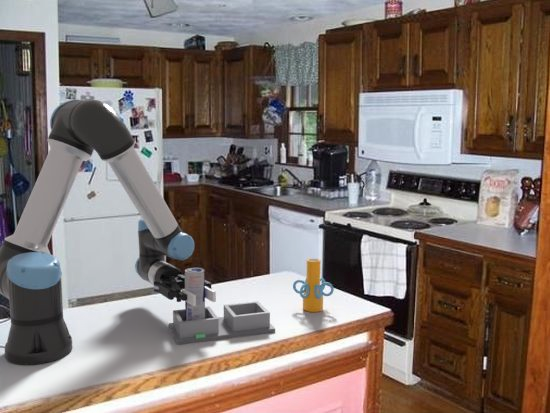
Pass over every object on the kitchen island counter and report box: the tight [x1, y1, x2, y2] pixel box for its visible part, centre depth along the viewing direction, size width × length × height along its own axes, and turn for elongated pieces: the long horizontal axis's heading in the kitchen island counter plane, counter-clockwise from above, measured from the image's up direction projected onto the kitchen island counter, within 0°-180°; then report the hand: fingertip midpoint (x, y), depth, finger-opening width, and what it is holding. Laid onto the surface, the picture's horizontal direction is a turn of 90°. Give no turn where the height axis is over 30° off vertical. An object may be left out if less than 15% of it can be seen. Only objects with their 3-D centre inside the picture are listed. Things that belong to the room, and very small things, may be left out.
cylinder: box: [292, 257, 335, 313], centre depth 171 cm, size 12×10×15 cm
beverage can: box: [184, 267, 206, 321], centre depth 151 cm, size 5×5×15 cm
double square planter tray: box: [168, 300, 276, 346], centre depth 155 cm, size 26×13×5 cm, turn 110°
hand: (204, 298), depth 147 cm, fingers closed on beverage can, 5 cm apart
